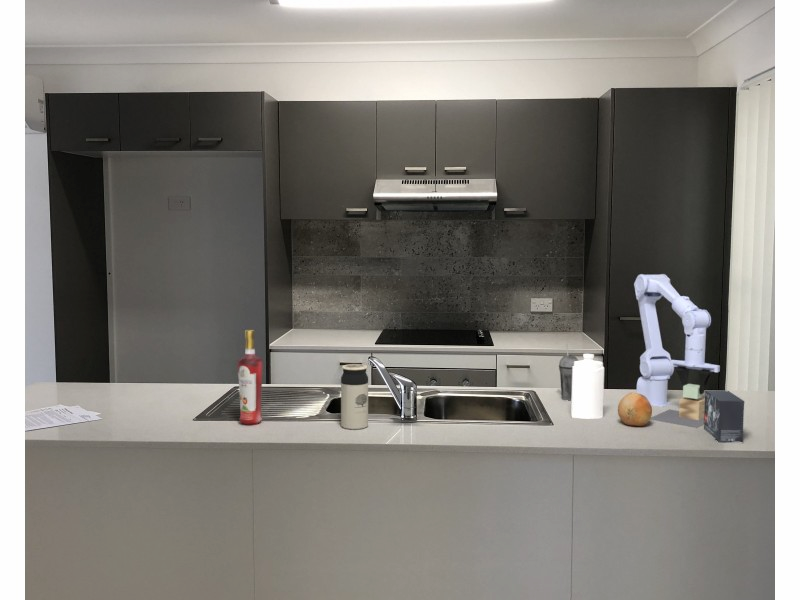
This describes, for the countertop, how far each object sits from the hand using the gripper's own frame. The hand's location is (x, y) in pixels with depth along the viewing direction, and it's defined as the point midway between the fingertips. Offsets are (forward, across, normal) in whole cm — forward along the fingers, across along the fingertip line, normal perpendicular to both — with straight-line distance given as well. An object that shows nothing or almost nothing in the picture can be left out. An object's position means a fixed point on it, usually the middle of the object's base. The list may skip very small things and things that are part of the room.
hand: (693, 392), depth 222 cm
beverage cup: (+8, -41, -4) cm, 42 cm away
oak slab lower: (+8, 0, 0) cm, 8 cm away
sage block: (+2, 0, 0) cm, 2 cm away
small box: (+8, +14, -15) cm, 22 cm away
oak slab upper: (+5, 0, 0) cm, 5 cm away
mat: (+8, -2, -4) cm, 9 cm away
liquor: (+8, -94, -99) cm, 137 cm away
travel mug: (+8, -69, -80) cm, 106 cm away
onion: (+8, -9, -22) cm, 25 cm away
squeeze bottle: (+8, -24, -23) cm, 34 cm away
